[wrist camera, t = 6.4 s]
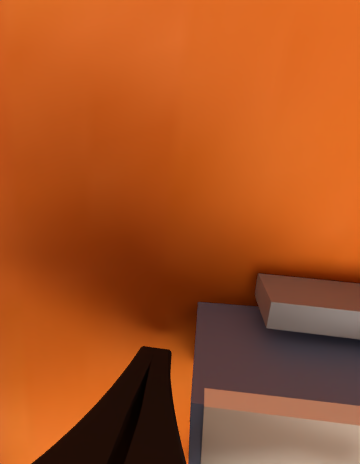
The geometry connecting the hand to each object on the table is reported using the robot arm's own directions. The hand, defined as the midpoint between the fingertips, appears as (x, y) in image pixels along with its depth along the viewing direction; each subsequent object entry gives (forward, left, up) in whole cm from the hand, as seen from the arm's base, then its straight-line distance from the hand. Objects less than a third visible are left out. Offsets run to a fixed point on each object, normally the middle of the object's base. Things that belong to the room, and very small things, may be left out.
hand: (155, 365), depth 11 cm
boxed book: (+6, 0, -2) cm, 6 cm away
